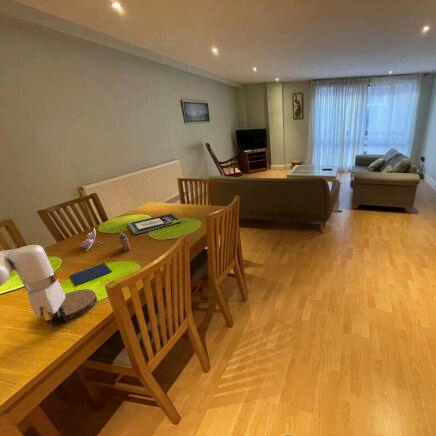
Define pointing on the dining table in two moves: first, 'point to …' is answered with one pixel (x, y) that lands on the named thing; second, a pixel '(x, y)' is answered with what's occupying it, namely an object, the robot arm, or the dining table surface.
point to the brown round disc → (77, 304)
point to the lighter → (124, 242)
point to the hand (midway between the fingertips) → (61, 322)
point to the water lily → (90, 239)
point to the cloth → (90, 274)
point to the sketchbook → (151, 223)
